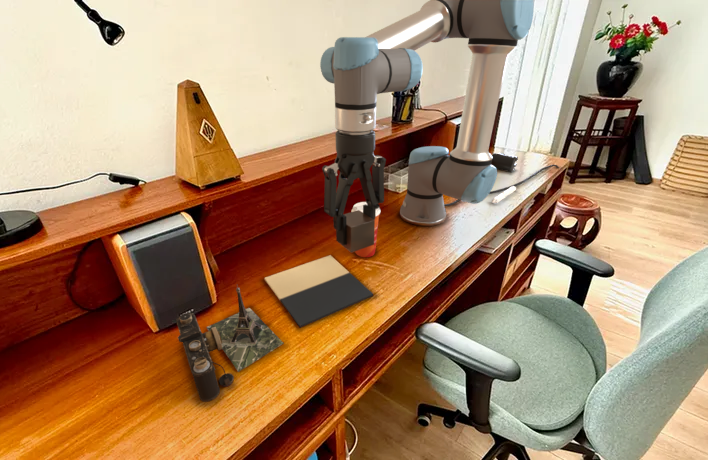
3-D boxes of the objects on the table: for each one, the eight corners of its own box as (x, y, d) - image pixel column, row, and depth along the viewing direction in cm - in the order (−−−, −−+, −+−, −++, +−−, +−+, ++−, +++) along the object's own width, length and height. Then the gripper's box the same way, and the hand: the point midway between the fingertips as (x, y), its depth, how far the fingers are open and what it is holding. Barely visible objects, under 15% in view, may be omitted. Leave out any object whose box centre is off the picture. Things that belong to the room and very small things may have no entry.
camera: (238, 387, 63) (231, 355, 59) (198, 406, 60) (188, 373, 56) (214, 330, 75) (207, 300, 71) (180, 343, 72) (170, 312, 68)
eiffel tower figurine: (205, 329, 76) (191, 277, 69) (249, 307, 82) (240, 257, 75) (238, 373, 66) (225, 317, 59) (286, 344, 72) (279, 291, 65)
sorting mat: (330, 256, 100) (330, 254, 100) (373, 295, 85) (373, 293, 85) (264, 279, 91) (264, 277, 90) (299, 327, 76) (299, 325, 76)
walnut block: (358, 233, 83) (358, 209, 80) (374, 244, 79) (374, 220, 76) (336, 240, 80) (335, 216, 77) (351, 252, 76) (350, 227, 73)
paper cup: (355, 261, 98) (355, 214, 91) (348, 247, 104) (348, 202, 98) (383, 257, 100) (385, 211, 93) (374, 243, 106) (375, 199, 100)
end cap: (488, 169, 164) (490, 154, 160) (494, 165, 168) (497, 151, 165) (509, 174, 158) (513, 159, 155) (516, 170, 162) (519, 155, 159)
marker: (494, 205, 129) (496, 199, 128) (489, 204, 130) (490, 198, 129) (515, 191, 141) (516, 186, 139) (510, 190, 142) (511, 184, 141)
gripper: (320, 141, 60) (325, 258, 71) (407, 128, 70) (399, 233, 81) (300, 132, 66) (307, 242, 77) (383, 121, 75) (379, 220, 86)
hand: (354, 237), depth 79 cm, fingers closed on walnut block, 6 cm apart
